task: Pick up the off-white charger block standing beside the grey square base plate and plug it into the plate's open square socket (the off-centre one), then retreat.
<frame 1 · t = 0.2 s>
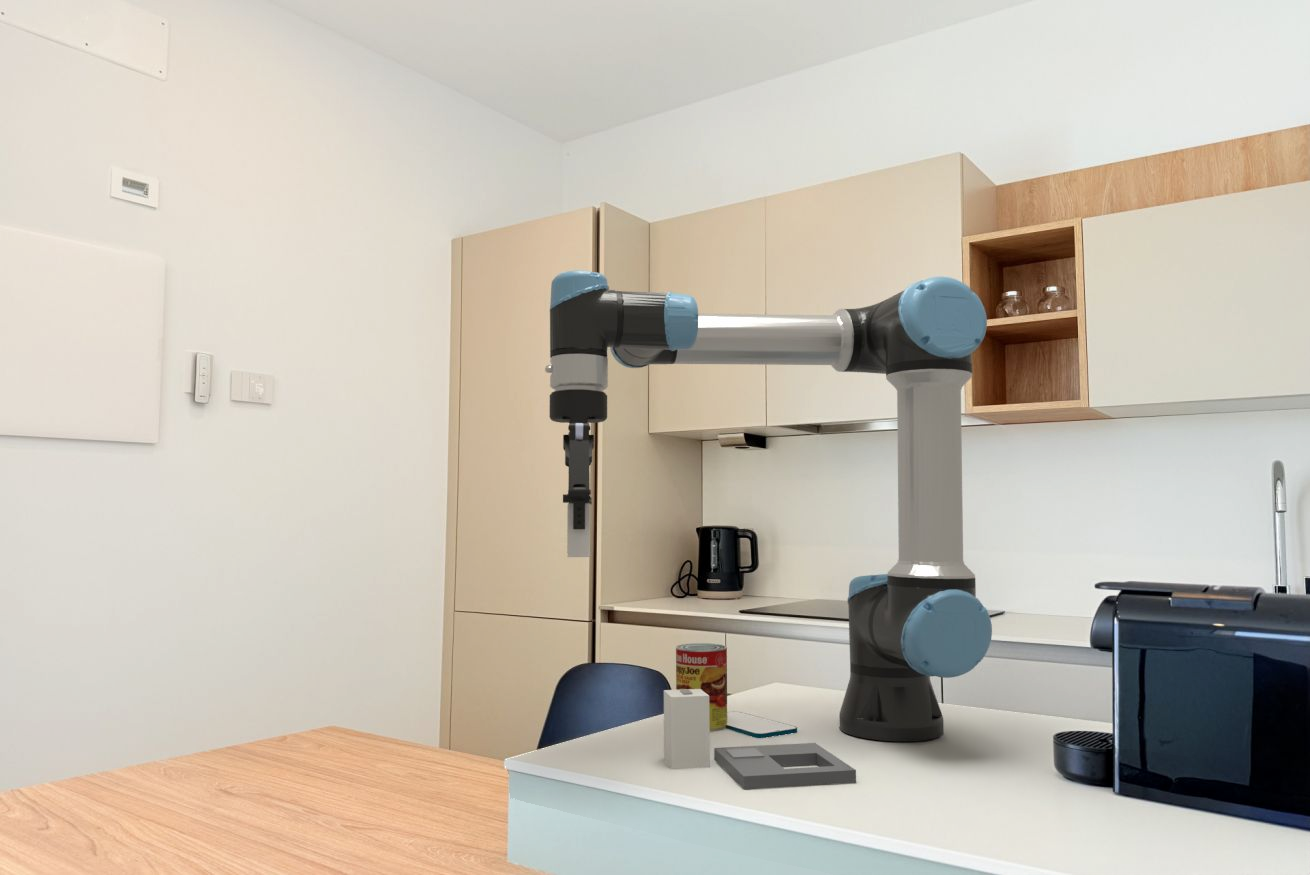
hand: (577, 555, 121), 27 cm above the kitchen island, fingers open, 13 cm apart
smartphone: (747, 729, 144), on the kitchen island
grey square base plate: (781, 770, 118), on the kitchen island
canned food: (701, 727, 144), on the kitchen island
charger: (686, 763, 122), on the kitchen island
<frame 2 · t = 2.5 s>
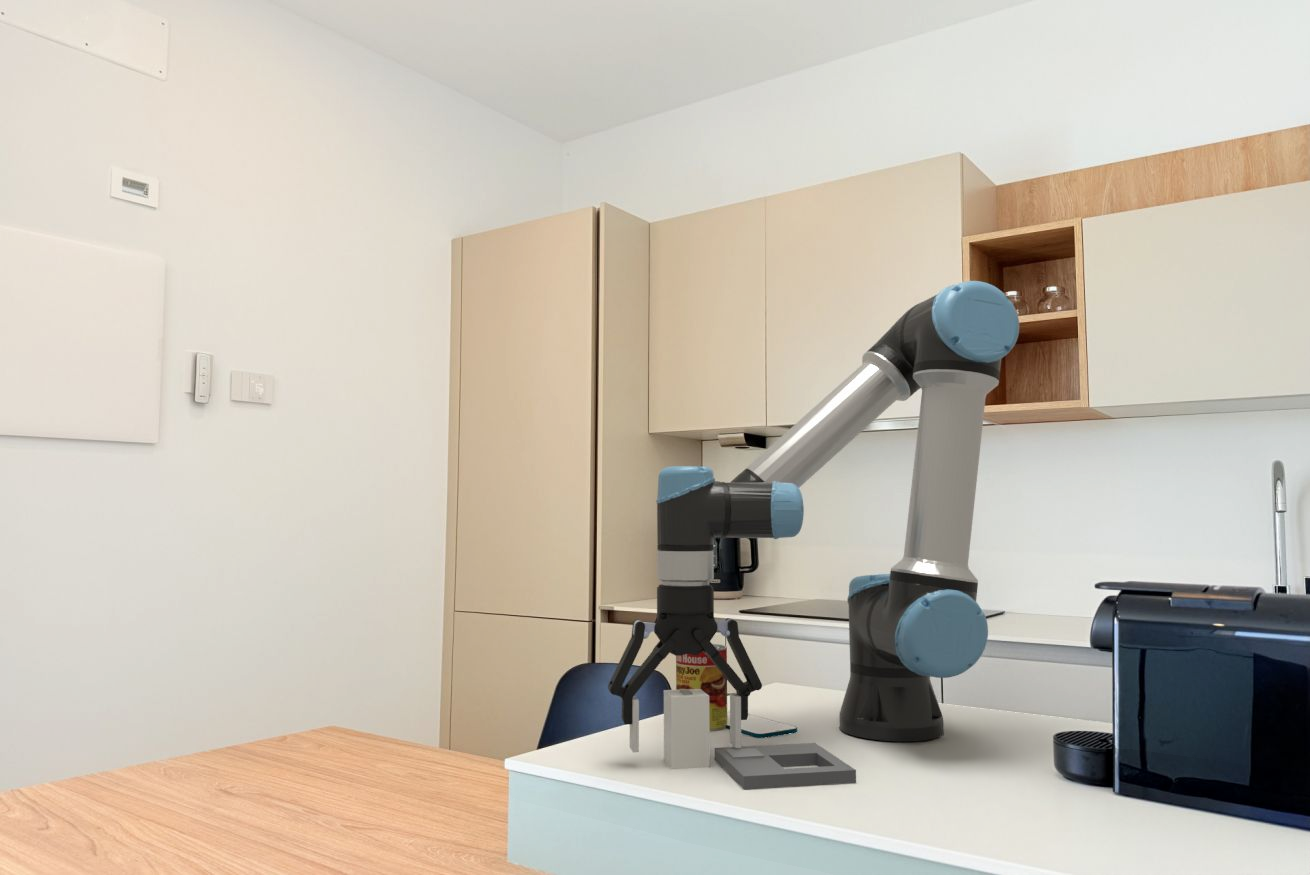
hand: (685, 747, 122), 2 cm above the kitchen island, fingers open, 13 cm apart
nothing on the kitchen island moved.
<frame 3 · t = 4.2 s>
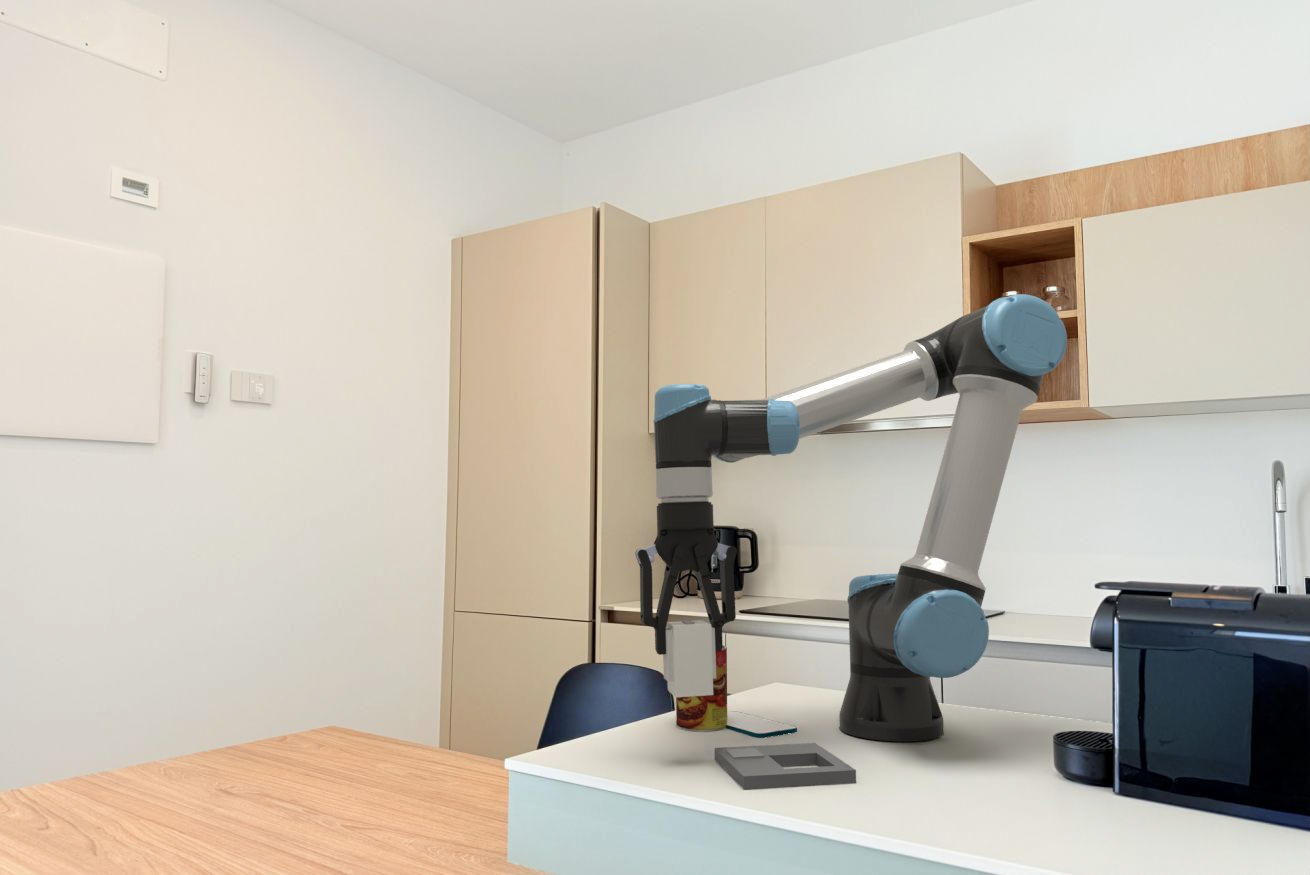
hand: (689, 677, 123), 11 cm above the kitchen island, fingers closed on charger, 5 cm apart
charger: (690, 692, 123), point 9 cm above the kitchen island, touching gripper
everything else where it was.
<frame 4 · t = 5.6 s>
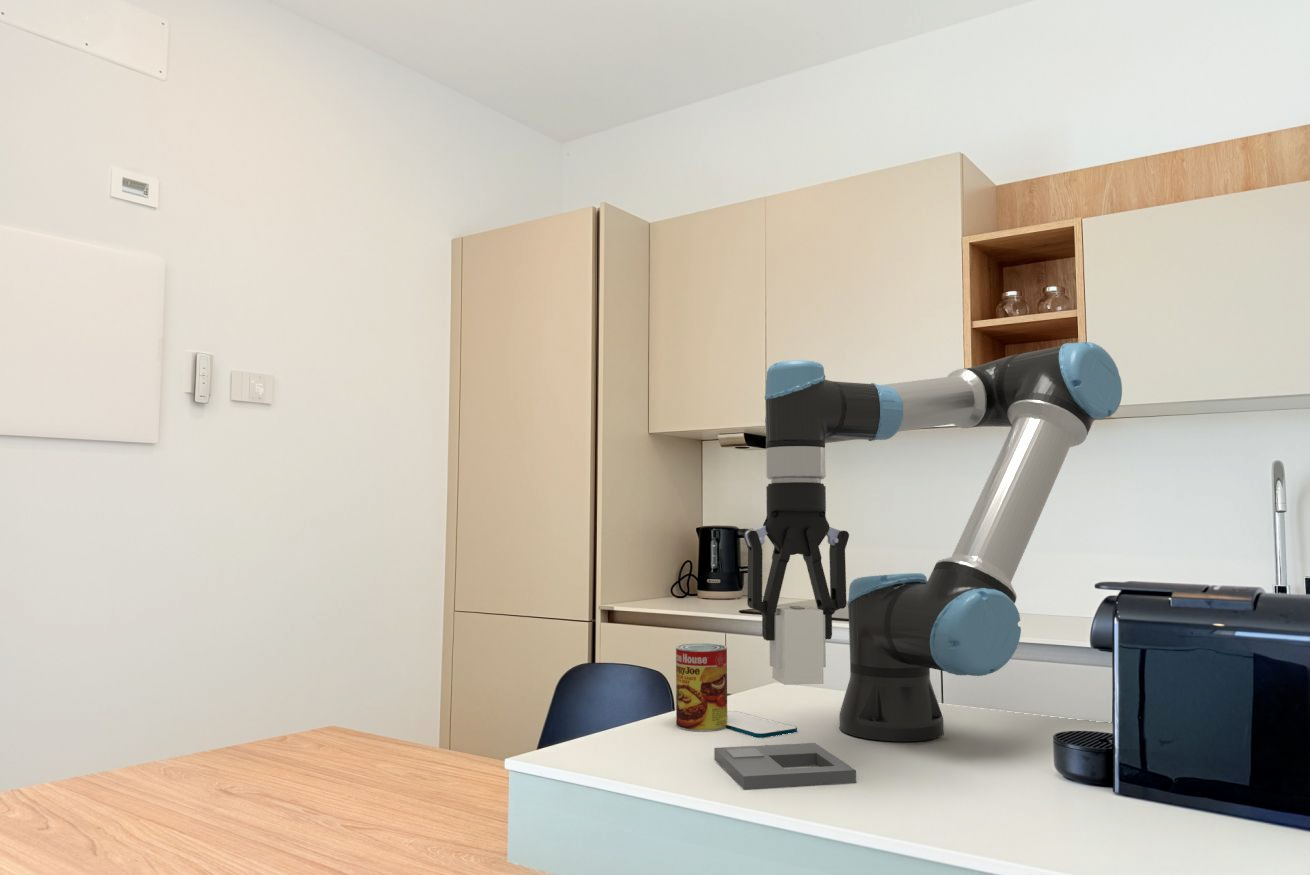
hand: (797, 665, 118), 13 cm above the kitchen island, fingers closed on charger, 5 cm apart
charger: (797, 680, 118), point 11 cm above the kitchen island, touching gripper
everything else where it was.
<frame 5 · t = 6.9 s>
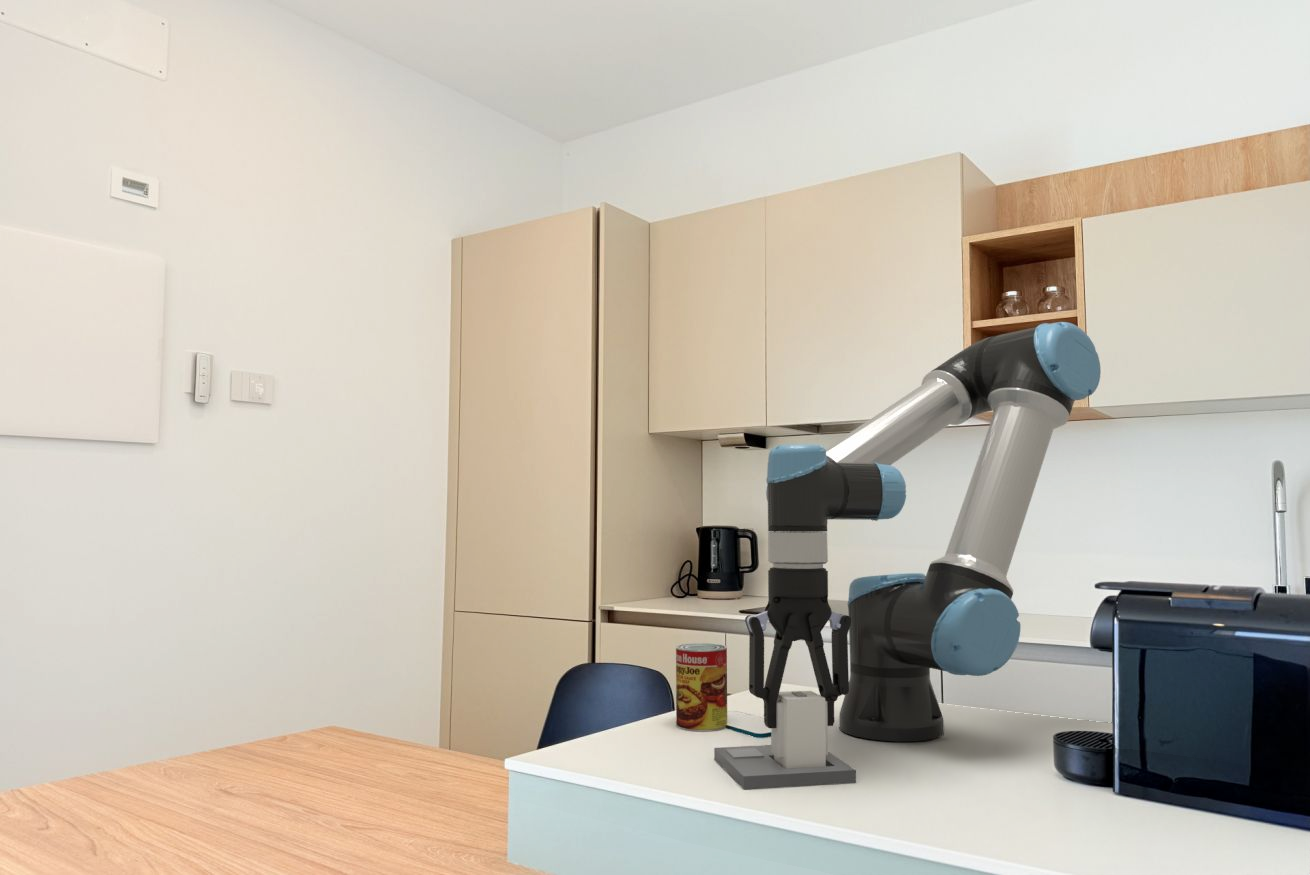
hand: (799, 753, 117), 2 cm above the kitchen island, fingers closed on charger, 5 cm apart
charger: (799, 768, 117), point 1 cm above the kitchen island, touching gripper
everything else where it was.
when the fingers open (2 cm above the kitchen island, at t = 7.3 s): charger stays where it is, resting in grey square base plate.
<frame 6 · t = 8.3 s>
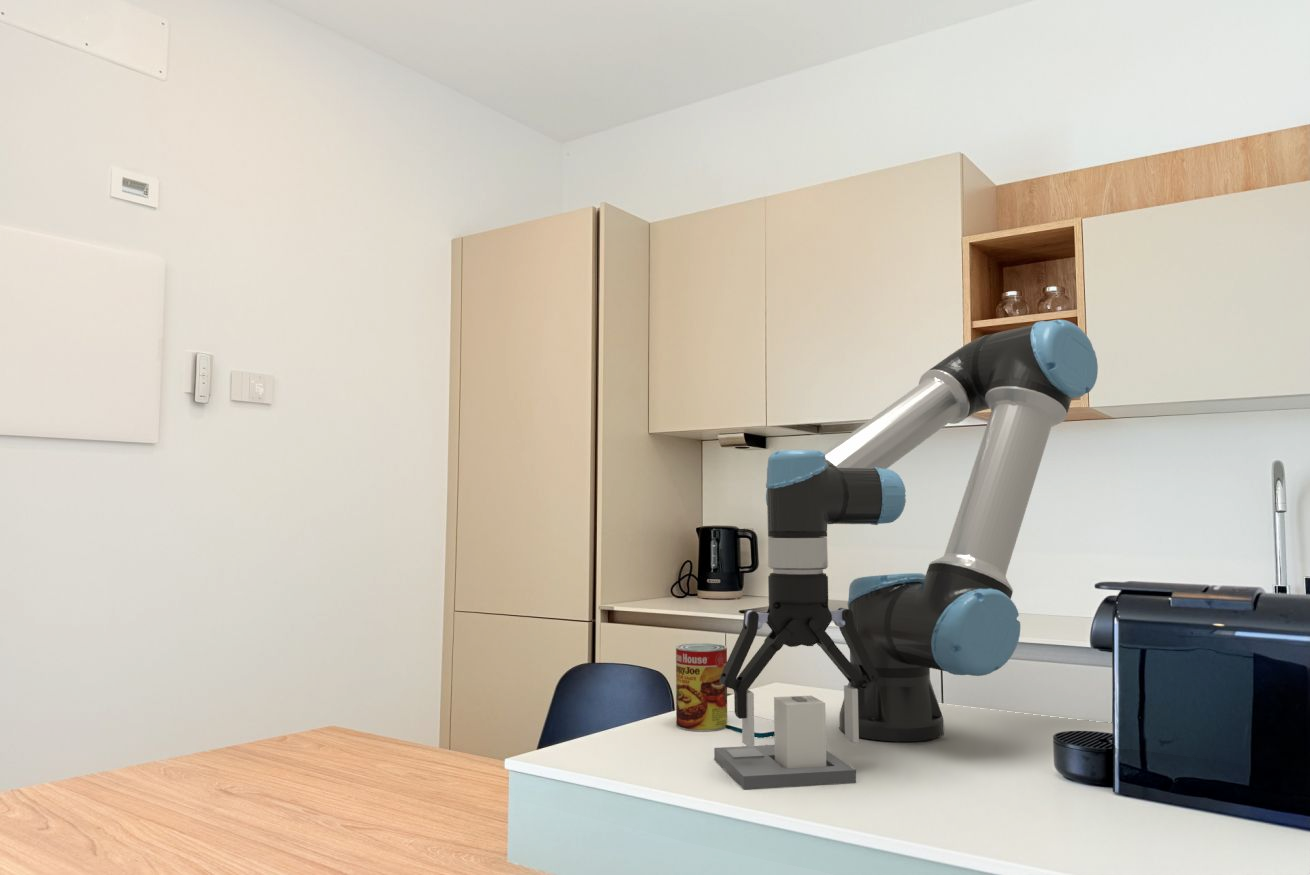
hand: (800, 742, 118), 4 cm above the kitchen island, fingers open, 13 cm apart
charger: (800, 773, 117), resting in grey square base plate
everything else where it was.
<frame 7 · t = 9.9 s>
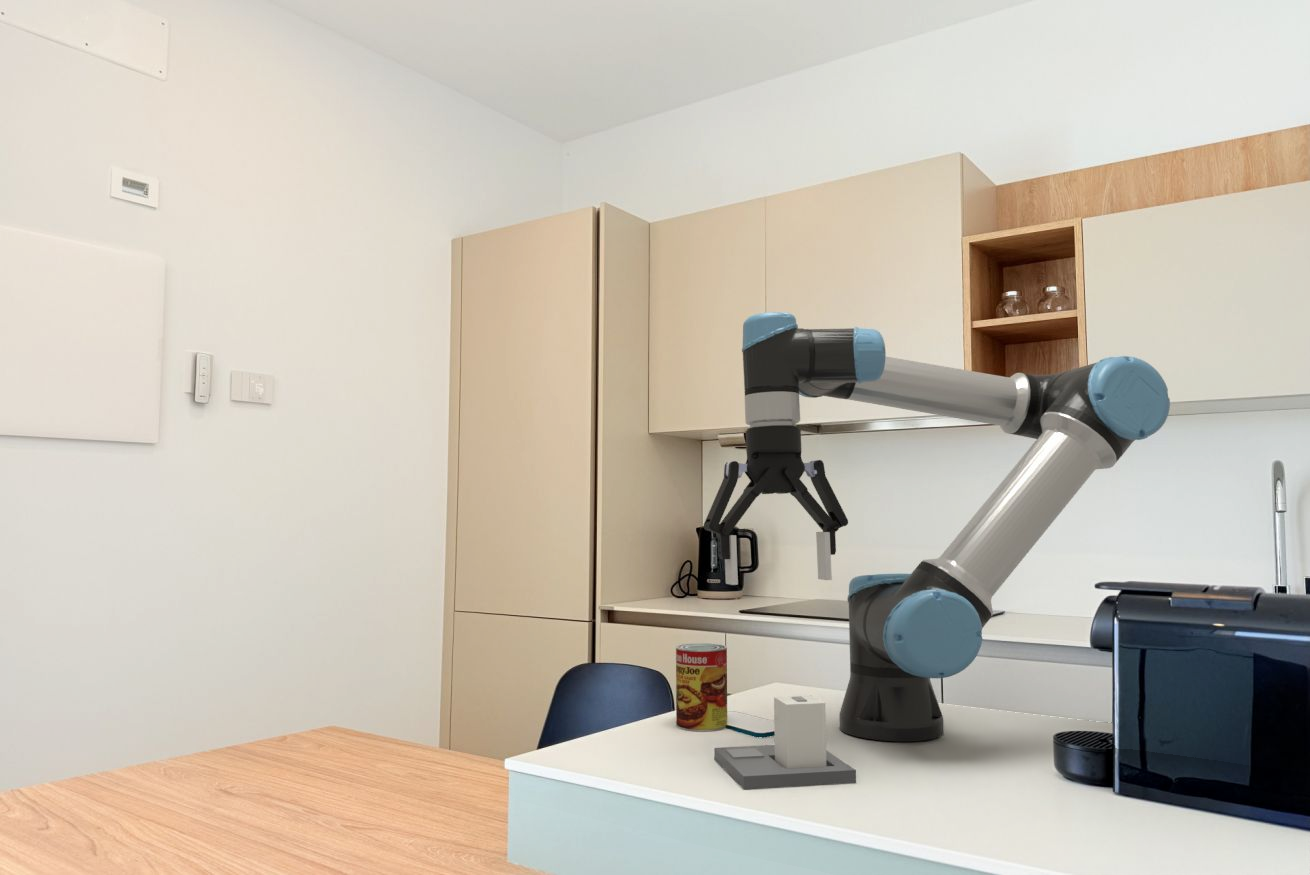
hand: (779, 582, 127), 23 cm above the kitchen island, fingers open, 13 cm apart
nothing on the kitchen island moved.
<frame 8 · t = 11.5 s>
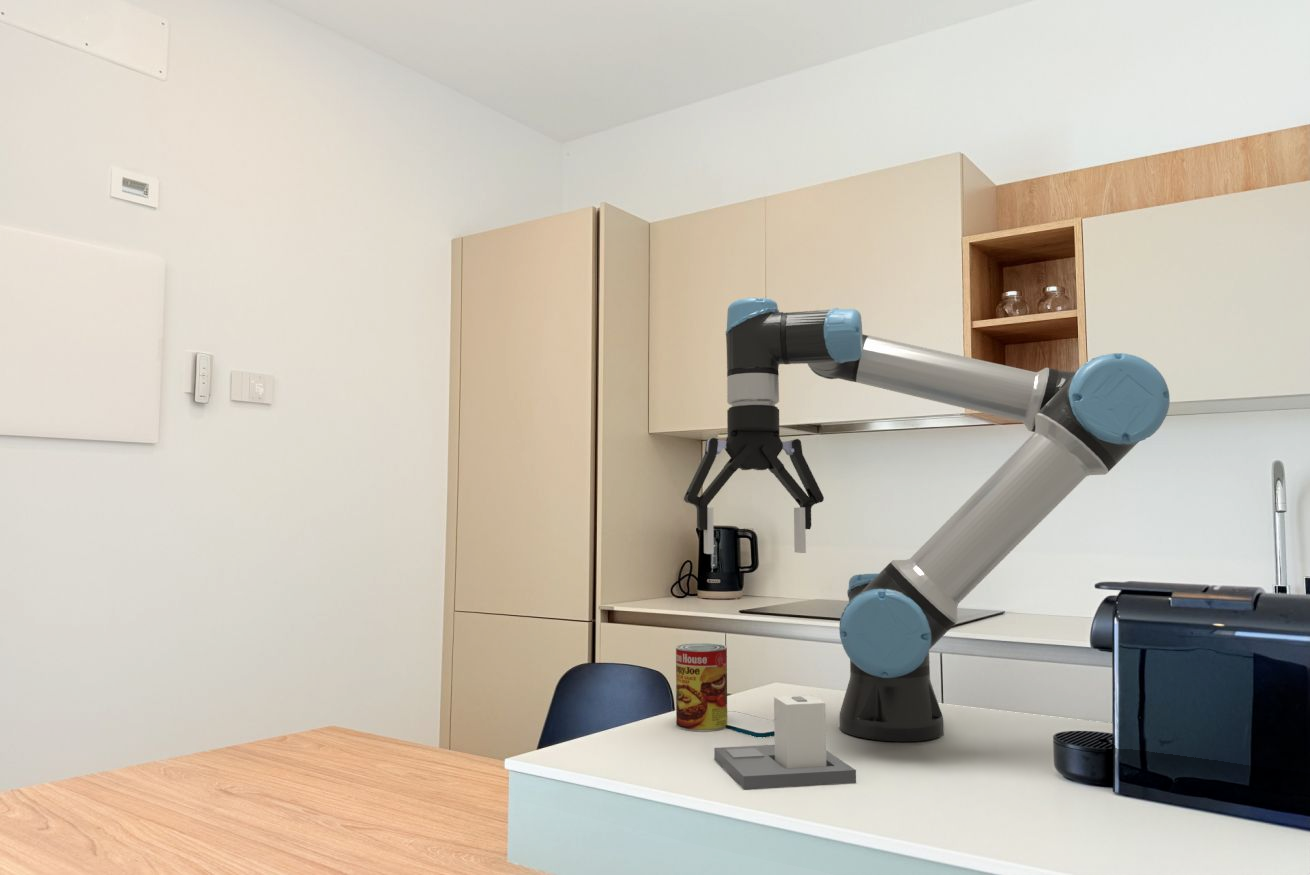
hand: (754, 553, 135), 27 cm above the kitchen island, fingers open, 13 cm apart
nothing on the kitchen island moved.
at the end: charger 0.1 cm from the target spot on the grey square base plate, point 0.0 cm above the grey square base plate's base; charger tilted 0° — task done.
